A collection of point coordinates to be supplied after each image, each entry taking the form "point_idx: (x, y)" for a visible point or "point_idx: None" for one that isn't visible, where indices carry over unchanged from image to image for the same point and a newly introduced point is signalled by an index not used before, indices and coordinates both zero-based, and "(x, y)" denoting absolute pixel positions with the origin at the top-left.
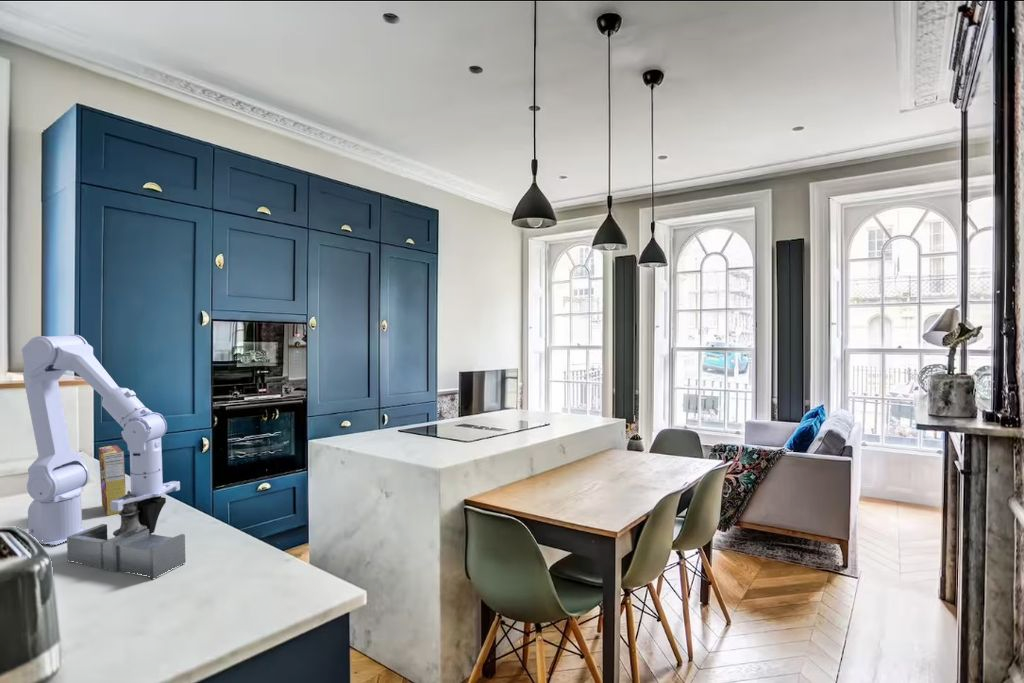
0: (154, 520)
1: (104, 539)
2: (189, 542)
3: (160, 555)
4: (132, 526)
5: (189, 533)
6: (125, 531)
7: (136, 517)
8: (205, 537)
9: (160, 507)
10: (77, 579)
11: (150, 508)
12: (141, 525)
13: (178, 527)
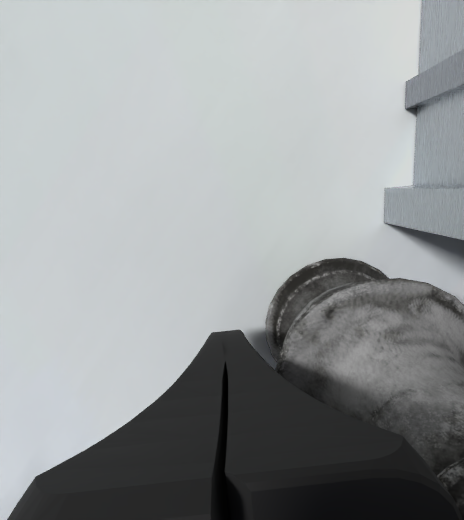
0: (216, 365)
1: None
2: (151, 56)
3: None
4: (441, 355)
5: (60, 202)
6: (461, 356)
7: (446, 414)
8: (43, 25)
9: (144, 434)
10: None
11: (334, 435)
12: (332, 360)
13: (42, 348)
